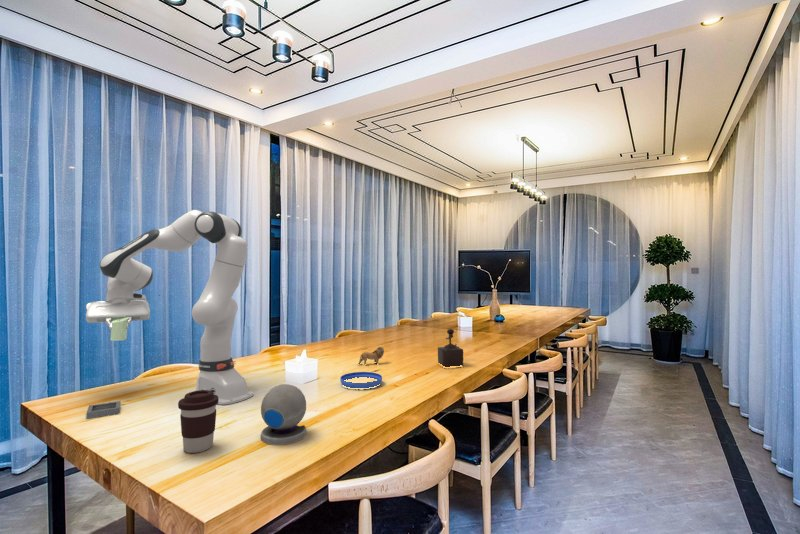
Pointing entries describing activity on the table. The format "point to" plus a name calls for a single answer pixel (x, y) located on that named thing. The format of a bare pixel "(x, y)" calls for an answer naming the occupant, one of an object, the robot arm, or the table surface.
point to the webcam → (283, 415)
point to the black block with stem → (450, 353)
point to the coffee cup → (198, 420)
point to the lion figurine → (372, 355)
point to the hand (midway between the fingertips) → (118, 328)
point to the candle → (119, 329)
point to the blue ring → (361, 374)
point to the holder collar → (103, 409)
